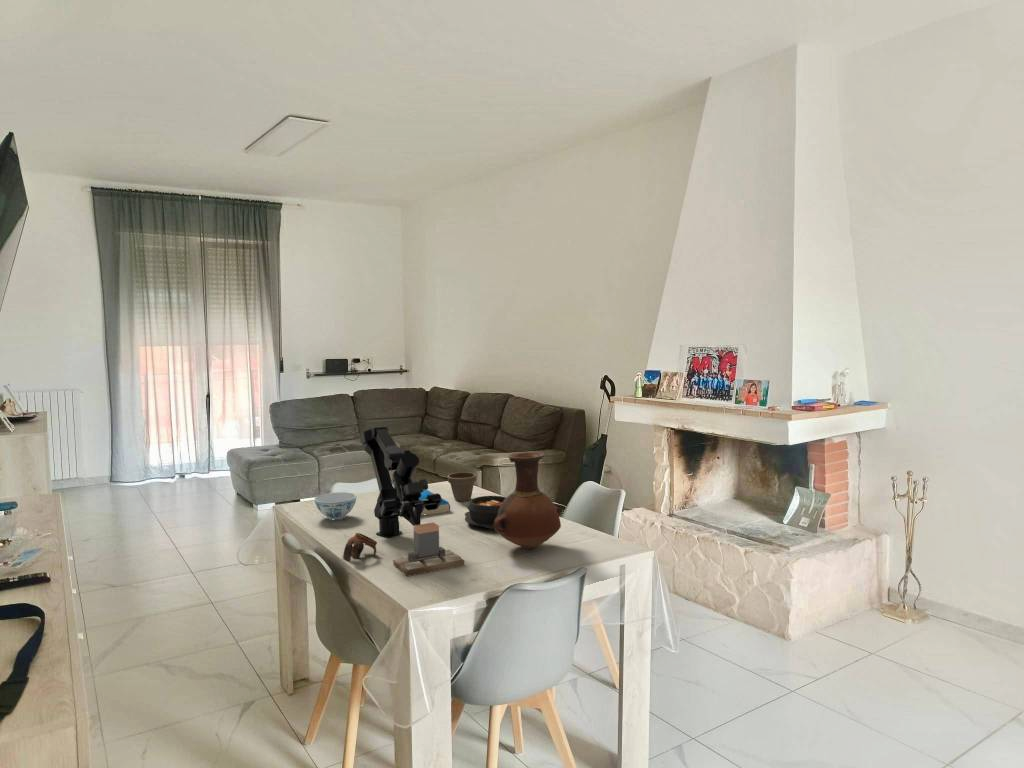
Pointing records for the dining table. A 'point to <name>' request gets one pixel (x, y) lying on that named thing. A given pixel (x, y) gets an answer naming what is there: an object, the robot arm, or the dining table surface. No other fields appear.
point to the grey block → (426, 540)
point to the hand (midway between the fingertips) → (418, 528)
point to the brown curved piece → (358, 546)
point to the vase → (527, 506)
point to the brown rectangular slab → (428, 562)
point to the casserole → (483, 511)
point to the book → (442, 507)
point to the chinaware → (335, 504)
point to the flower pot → (462, 485)
